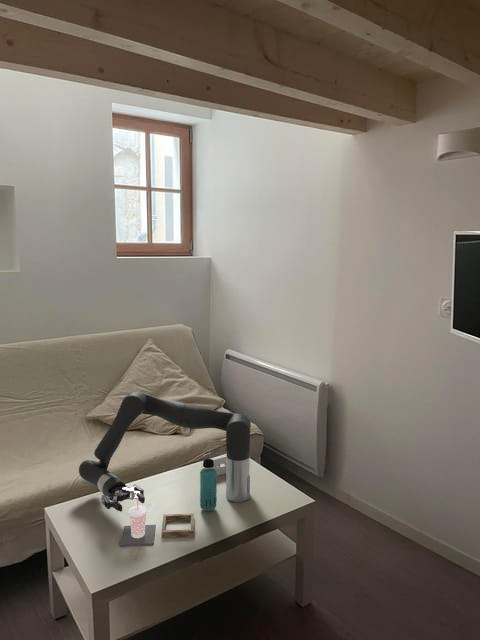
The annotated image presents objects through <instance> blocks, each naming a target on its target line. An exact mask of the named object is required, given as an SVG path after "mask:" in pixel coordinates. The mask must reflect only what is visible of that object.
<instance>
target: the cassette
mask: <svg viewBox="0 0 480 640" xmlns="http://www.w3.org/2000/svg"><path fill="white" fill-rule="evenodd" d="M211 459H212V460H213V461H214V466H213V468H214V469H215V470H216V471H217V473H216V477H218V476H221V475H225V474H226V459H227V455H223V456H220V457H215V458H211Z"/></svg>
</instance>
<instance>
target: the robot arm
mask: <svg viewBox="0 0 480 640" xmlns="http://www.w3.org/2000/svg"><path fill="white" fill-rule="evenodd" d="M140 415H150V416H154V417H155V416H156V417H158V418H161V419H162V420H164V421H167V422H168V423H170V424H173V425H175V426H179V427H181V428H187V429H192V430H200V429H202V430H203V429H216V430H221V431H225V451H226V456H227V459H226V473H225V474H226V476H225V497H226V499H227V500H228V501H231V502H234V503H242V502H245V501H249V500H251V499H250V497H251V496H250V495H251V476H250V475H251V474H250V470H251V469H250V465H251V463H250V461H251V459H250V458H251V427H252V425H251V420H250V418H248V416H246V415H245V414H241V413H236V412H229V411H228V412H227V411H219V410H215V409H211V408H208V407H202V406H199V405H197V404H196V405H195V404H191V403H188V402H182V401H177V400H170V399H165V398H160V397H156V396H154V395H151V394H149V393H145V392H142V391H132V392H130V393H128V394H127V395H125V396H124V398H123V399H122V401H121V404H120V406H119V409H118V411H117V414H116V416H115V417H114V419H113V421H112V424H111V425H110V426H109V428H108V430H106V432H105V434H104V435H103V437H102V439H101V440H100V441H99V443H98V445H97V446H96V448H95V450H94V453H93V454H94V457H95V458H97V459H98V460H99V461H95V460H91V459H85V460H83V461H81V463H80V465H79V466H78V473H79V475H80V477H81V478H82V479H83V480H84V481H87V482H88V483H90V484H93V485H94V486H95V487H96V488H97V489H98V490H99V491H100V492H101V494H103V495H101V504H102V505H103V506H104V507H105V508H106V509H107V510H110V509H111V508H112V509H114V510H116V511H117V512H120V513H121V512H123V505H122V504H121V503H122V502H124V501H125V500H134V499H135V500H137V496H138V502H140V504H141V505H142V504H145V501H146V497H145V495H144V492H145V490H144V488H142V487H141V486H139V485H138V484H133V485H132V487H128V486H127V485H126V483H125V482H124V481H123V480H121V479H120V478H119V477H117V475H115V474H113V473H112V472H111V471H109V470H108V469H109V468H108V467H109V465H110V462H111V459H112V457H113V455H114V454H115V452H117V451H116V450H117V449H118V448H119V446H120V444H121V442H122V440H123V438H124V436H125V434H126V433H127V430H128V429H129V427H130V426H131V425H132V424H133V423H134V421H135V420H136V419H137V418H138V417H139V416H140ZM120 502H121V503H120Z"/></svg>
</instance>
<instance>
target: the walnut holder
mask: <svg viewBox="0 0 480 640" xmlns="http://www.w3.org/2000/svg"><path fill="white" fill-rule="evenodd" d="M194 514H195V513H171V514H170V513H168V514H163V515H162V525H161V538H162V539H163V538H185V537H186V538H187V537H194V535H195V533H194V529H195V527H194V526H195V524H194V523H195V522H194V518H195V515H194ZM173 521H174V522H175V521H177V522H178V521H190V529H170V530H169V529H168V530H167V529H166V525H167V522H173Z"/></svg>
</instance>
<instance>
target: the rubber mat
mask: <svg viewBox="0 0 480 640" xmlns="http://www.w3.org/2000/svg"><path fill="white" fill-rule="evenodd" d="M156 527H157V525H156V524H145V535H144V536H143V537H141V538H134V537H132V536H131V525H124V526H123V531H122V534H121V539H120V542H119V547H136V546H137V547H139V546H154V542H155V534H156Z"/></svg>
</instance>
